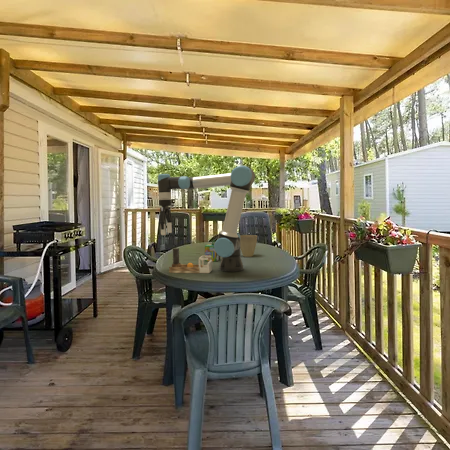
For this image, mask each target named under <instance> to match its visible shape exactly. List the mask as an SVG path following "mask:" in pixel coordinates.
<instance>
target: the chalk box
mask: <svg viewBox="0 0 450 450" xmlns="http://www.w3.org/2000/svg"><path fill="white" fill-rule="evenodd" d="M211 242H212V243H208V244H205V245H204V256H211V258H209V260H204V262H209V261H210V260H212V263H213V262H218V261H220V260H221V256H219V255H218V254H217V253H216V252H215V249H214V245H215V242H216V240H215V239H214V240H212V241H211ZM204 258H208V257H204Z"/></svg>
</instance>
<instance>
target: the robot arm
mask: <svg viewBox="0 0 450 450" xmlns="http://www.w3.org/2000/svg"><path fill="white" fill-rule="evenodd" d="M255 180H256V174H255V172H254V170H253V169H252V168H250V167H249V166H246V165H236V167H234V168H233V169H232V170H231V172H229V173H219V174H210V175H199V176H190V177H188V176H186V175H185V176H184V175H180V176H171V175H170V174H169V173H159V174H158V175H157V189H158V194H157V196H158V199H159V200H158V206H159V207H160V208H159V220H158V225H160V235H161V236H166V230H167V233H168V234H172V233H173V230H172V223H174V220H173V216H172V211H171V207H170V206H172V200H171V199H172V191H171V190H186V191H190V190H195V189H196V190H197V189H204V188H205V189H206V188H217V187H225V186H229V188H230V190H231V192H230V196H229V201H228V205H227V210H226V213H225V218H224V222H223V226H222V229H221V230H220V231H219V233H218V235H217V240H215V242H214V244H215V245H214V249H215V252H216V253H217V254H218V255H219V256H220V258H221V259H220V260H221V261H220V264H219V271H221V272H240V271H244V265H243V260H242V257H241V254H242V251H241V248H240V240H241V238H240V235H241V234H240V233H238V228H239V224H240V220H241V216H242V212H243V208H244V203H245V199H246V196H247V195H246V194H248V193H249V192H250V190H251V186H252V184H253V183H255ZM165 222H167V223H166V224H165Z"/></svg>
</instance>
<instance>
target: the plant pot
mask: <svg viewBox="0 0 450 450" xmlns="http://www.w3.org/2000/svg"><path fill="white" fill-rule="evenodd" d="M240 238H241V240H240V251H241V254H242V256H243V257H244V258H251V257H253V256H254V253H255V250H256V247H257V242H258V241H257V240H258V235H255V234H240Z"/></svg>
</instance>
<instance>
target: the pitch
mask: <svg viewBox="0 0 450 450" xmlns="http://www.w3.org/2000/svg"><path fill="white" fill-rule="evenodd" d="M187 264H188V263H187ZM187 264H186V263H181V267H172V266H169V267H168V268H169V269H168V273H169V274H170V273H171V274H201V273H200V268H199V264H193V267H187ZM201 267H203V265H202V264H201Z"/></svg>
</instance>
